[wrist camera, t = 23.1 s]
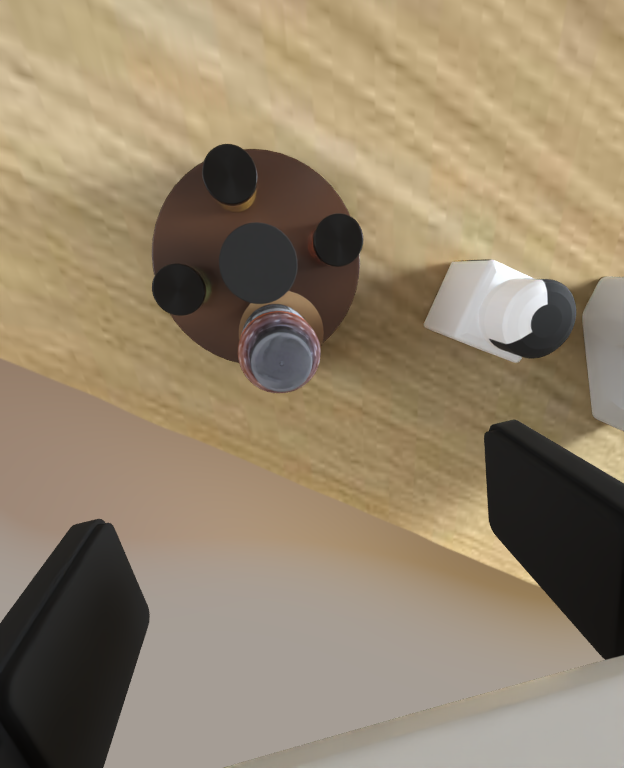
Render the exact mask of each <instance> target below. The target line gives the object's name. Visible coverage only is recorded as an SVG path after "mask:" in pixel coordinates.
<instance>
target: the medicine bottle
mask: <svg viewBox="0 0 624 768" xmlns="http://www.w3.org/2000/svg"><path fill="white" fill-rule="evenodd" d="M575 320H576V305H575V301H574V297H573V295H572V293H571V292H570V290H569V289H568V288H567V287H566V286H565V285H563V284H562V283H560V282H558V281H555V280H549V279H534V278H531V277H529V276H527V275H525V274H523V273H521V272H519V271H516V270H514V269H512V268H510V267H508V266H506V265H503V264H501V263H499V262H497V261H495V260H491V259H490V260H462V261H453V262H452V263H451V265H450V267H449V269H448V271H447V274H446V276H445V278H444V280H443V282H442V285H441V287H440V289H439V291H438V293H437V296H436V298H435V300H434V302H433V305H432V307H431V309H430V311H429V313H428V316H427V318H426V320H425V322H424V327H425V328H427V329H429V330H432V331H434V332H437V333H439V334H442V335H444V336H447V337H449V338H452V339H454V340H457V341H459V342H462V343H464V344H467V345H469V346H472V347H474V348H477V349H480V350H482V351H485V352H488V353H490V354H493V355H496V356H498V357H501V358H504V359H506V360H509V361H511V362H514V363H518V362H519V361H520V360H521V358H522V357H524V358H540V357H543V356H546V355H548V354H550V353H552V352H553V351H555V350H556V349H557V348H559V347H560V346H561V345H562V344H563V343H564V342H565V341H566V339H567V338H568V337H569V335H570V333H571V331H572V329H573V327H574V324H575Z"/></svg>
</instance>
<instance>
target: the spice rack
mask: <svg viewBox="0 0 624 768" xmlns="http://www.w3.org/2000/svg"><path fill="white" fill-rule="evenodd" d="M362 246H363V233H362V230H361V228H360V226H359V224H358V223H357V221H356V220H355V219H353V218H352V217H351V216H350V215H349V212H348V210H347V208H346V207H345V205H344V203H343V202H342V200H341V198H340V197H339V195H338V194H337V193H336V191H335V190H334V189H333V188H332V186H331V185H330V184H329V183H328V182H327V181H326V180H325V179H324V178H323V177H322V176H321V175H320V174H318V173H317V172H315V171H314V170H313V169H311V168H310V167H309V166H307V165H305V164H304V163H302V162H300V161H298V160H296V159H294V158H292V157H289V156H287V155H284V154H281V153H277V152H273V151H268V150H259V149H242V148H240V147H239V146H236V145H232V144H223V145H219V146H217V147H215V148H213V149H212V150H211V151H210V152H209V153H208V154H207V156H206V158H205V160H204V162H202V163H200V164H199V165H197V166H196V167H194V168H193V169H192V170H191V171H189V172H188V173H187V174H185V175H184V177H183V178H182V179H181V180H180V181H179V182H178V183H177V184H176V185H175V186H174V188H173V189H172V191H171V192H170V194H169V195H168V196H167V198H166V200H165V202H164V204H163V206H162V208H161V210H160V213H159V216H158V219H157V222H156V224H155V230H154V235H153V243H152V261H153V271H154V275H155V277H154V279H153V283H152V292H153V296H154V298H155V300H156V302H157V304H158V305H159V306H160V307H161V308H162V309H163V310H165V311H166V312H168V313H170V315H171V316H172V318H173V319H174V321H175V322H176V323H177V324H178V325H179V327H180V328H181V329H182V330H183V331H184V332H185V333H186V334H187V335H188V336H189V337H190V338H191V339H192V340H193V341H195V342H196V343H197V344H199V345H200V346H201V347H203V348H204V349H206V350H208V351H210V352H211V353H213V354H215V355H217V356H219V357H222V358H224V359H227V360H230V361H234V362H238V363H239V359H238V346H239V340H240V337H241V333H242V331H243V327H244V325H245V322H246V321H247V319H248V318H249V316H250V315H251V314H252V313H253V312H254V311H255V310H257V309H258V308H260V307H262V306H265V305H268V304H282V305H286V306H288V307H290V308H292V309H294V310H295V311H297V312H298V313H299V314H300V315H301V316H302V317H304V319H305V320H306V321H307V323H308V324H309V325H310V326H311V327H312V328H313V330H314V332H315V333H316V335H317V338H318V340H319V343H320V349H321V346H322V343H323V342H324V341H325V340H326V339H327V338H328V337H329V336H331V335H332V334H333V332H334V331H335V330H336V329H337V327H338V326H339V325H340V324H341V322H342V320H343V319H344V317H345V316H346V314H347V312H348V310H349V308H350V306H351V304H352V301H353V298H354V295H355V292H356V289H357V284H358V279H359V268H360V255H359V254H360V252H361V249H362Z"/></svg>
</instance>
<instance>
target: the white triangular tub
mask: <svg viewBox="0 0 624 768" xmlns="http://www.w3.org/2000/svg"><path fill="white" fill-rule="evenodd" d="M582 323H583V332H584V341H585V351H586V360H587V369H588V379H589V388H590V397H591V407H592V414H593V416H594V418H596V419H597V420H600V421H602V422H604V423H606V424H608V425H611V426H613V427H615V428H617V429H619V430H622V431H624V277H603V278H601V280H600V281H599V282H598V284H597V286H596V288H595V290H594V292H593V294H592V295H591V297H590V299H589V301H588V303H587V305H586V307H585V309H584V312H583V315H582Z"/></svg>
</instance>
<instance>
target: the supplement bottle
mask: <svg viewBox="0 0 624 768" xmlns="http://www.w3.org/2000/svg"><path fill="white" fill-rule="evenodd" d="M320 355H321V352H320V343H319V340H318V338H317V335H316V333H315V332H314V330H313V328H312V327H311V326H310V325H309V324H308V323H307V321H306V320H305V319H304V317H302V316H301V315H300V314H299V313H298V312H297V311H295V310H294V309H292V308H290V307H288V306H286V305H282V304H268V305H265V306H262V307H260V308H258V309H257V310H255V311H254V312H253V313H252V314H251V315H250V316H249V318H248V319H247V321H246V322H245V325H244V327H243V331H242V333H241V337H240V340H239V346H238V359H239V363H240V366H241V369H242V371H243V373H244V374H245V376H246V377H247V378H248V380H249V381H250V382H251V383H253V384H254V385H255V386H257V387H258V388H260V389H262V390H264V391H267V392H271V393H287V392H291V391H294V390H297V389H299V388H301V387H302V386H304V385H305V384H306V383H307V382H308V381H309V380H310V379H311V378H312V377H313V375H314V374H315V373H316V370H317V368H318V365H319V362H320Z"/></svg>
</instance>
